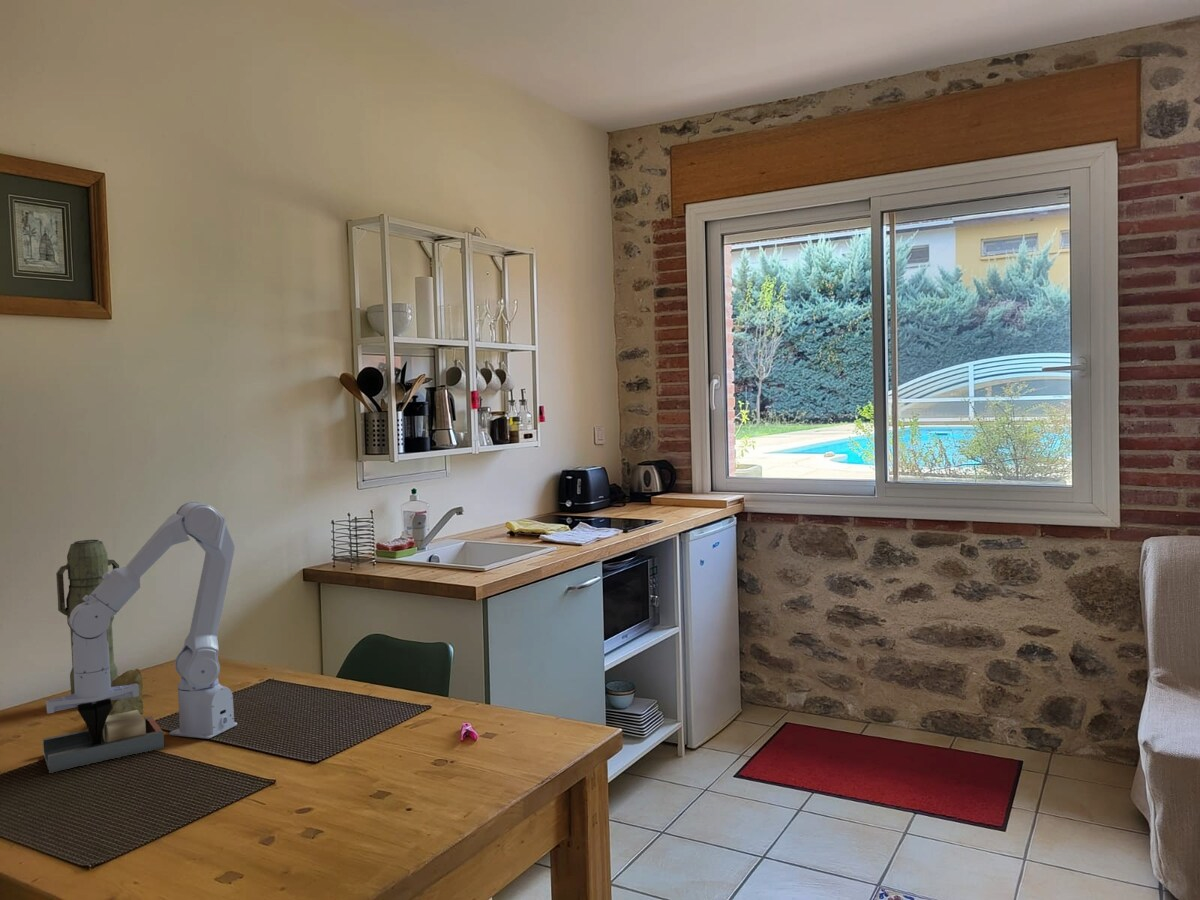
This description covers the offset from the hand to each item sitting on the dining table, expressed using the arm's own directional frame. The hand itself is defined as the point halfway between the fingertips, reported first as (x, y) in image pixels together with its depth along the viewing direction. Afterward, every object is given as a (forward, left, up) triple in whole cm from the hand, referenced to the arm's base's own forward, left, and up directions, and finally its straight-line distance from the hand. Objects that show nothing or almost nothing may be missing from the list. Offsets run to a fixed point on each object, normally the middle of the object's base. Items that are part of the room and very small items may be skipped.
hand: (96, 743), depth 162 cm
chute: (-1, -1, -2) cm, 2 cm away
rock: (+12, -16, -2) cm, 20 cm away
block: (-3, -4, -1) cm, 5 cm away
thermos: (+27, -24, -2) cm, 36 cm away
